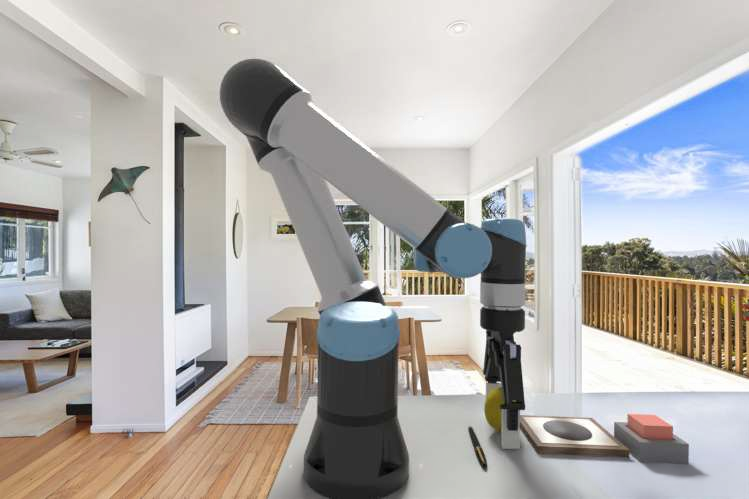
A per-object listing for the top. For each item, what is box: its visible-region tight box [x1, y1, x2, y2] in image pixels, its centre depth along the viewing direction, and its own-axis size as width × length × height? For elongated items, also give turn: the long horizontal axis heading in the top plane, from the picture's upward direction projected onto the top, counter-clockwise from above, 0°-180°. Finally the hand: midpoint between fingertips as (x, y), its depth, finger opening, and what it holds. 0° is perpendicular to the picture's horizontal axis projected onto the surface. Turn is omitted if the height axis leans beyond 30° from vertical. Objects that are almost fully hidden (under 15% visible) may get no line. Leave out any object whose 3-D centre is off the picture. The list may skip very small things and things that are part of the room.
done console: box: [613, 421, 690, 465], centre depth 65 cm, size 7×7×3 cm
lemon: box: [483, 387, 516, 434], centre depth 70 cm, size 6×6×8 cm
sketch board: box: [520, 414, 630, 459], centre depth 69 cm, size 14×12×1 cm
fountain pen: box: [467, 425, 488, 469], centre depth 65 cm, size 14×1×2 cm, turn 176°
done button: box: [626, 413, 674, 440], centre depth 65 cm, size 4×4×2 cm
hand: (500, 431), depth 70 cm, fingers open, 11 cm apart
